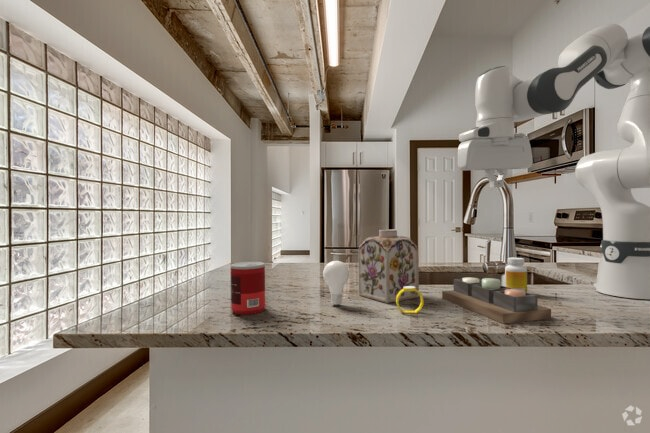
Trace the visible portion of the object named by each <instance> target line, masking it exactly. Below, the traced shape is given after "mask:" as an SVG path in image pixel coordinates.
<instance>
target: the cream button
mask: <svg viewBox="0 0 650 433" xmlns="http://www.w3.org/2000/svg"><path fill="white" fill-rule="evenodd" d="M461 279H462V281H463V282H467V283H477V282H479V280H480V278H478V277H470V276H469V277H468V276H467V277H462V278H461Z"/></svg>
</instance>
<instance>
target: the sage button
mask: <svg viewBox="0 0 650 433" xmlns="http://www.w3.org/2000/svg"><path fill="white" fill-rule="evenodd" d="M481 280H482V287H483V288H487V289H499V288H500V285H501V279H499V278H492V277H484V278H482V279H481Z"/></svg>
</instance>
